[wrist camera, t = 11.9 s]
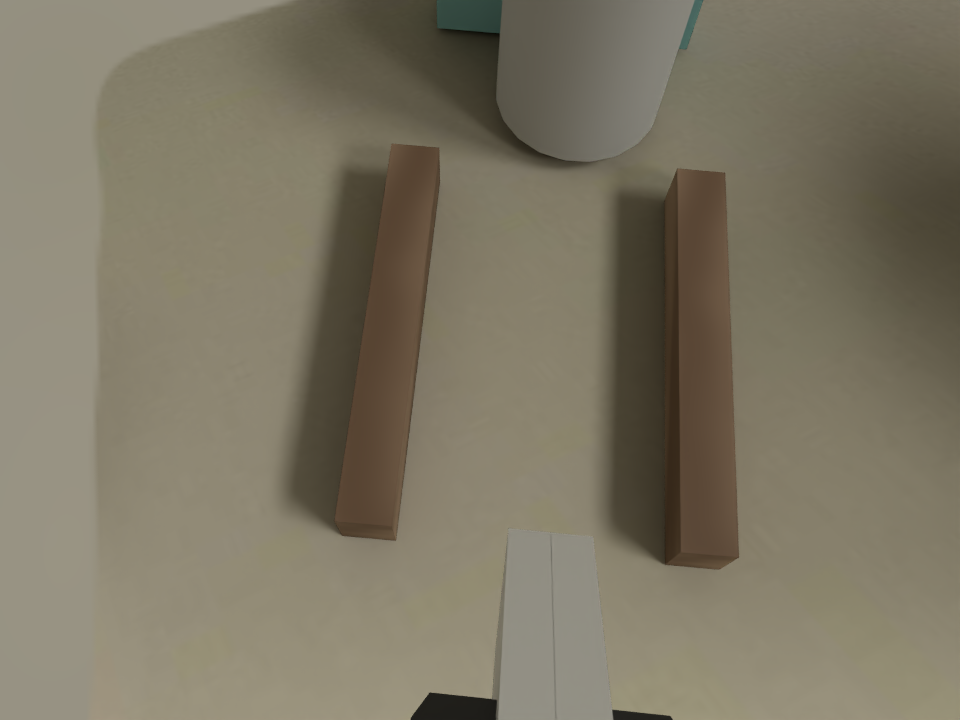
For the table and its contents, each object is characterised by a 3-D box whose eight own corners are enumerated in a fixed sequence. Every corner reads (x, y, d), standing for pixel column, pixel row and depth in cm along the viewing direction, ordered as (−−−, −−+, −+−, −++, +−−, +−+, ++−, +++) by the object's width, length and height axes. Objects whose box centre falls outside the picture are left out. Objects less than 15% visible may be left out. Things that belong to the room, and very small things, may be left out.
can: (485, 50, 41) (497, -197, 30) (638, 40, 42) (704, -207, 31) (505, 180, 39) (527, -42, 28) (669, 167, 39) (755, -56, 28)
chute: (709, 205, 38) (725, 172, 36) (719, 569, 32) (738, 557, 30) (394, 177, 38) (391, 143, 36) (342, 535, 32) (333, 521, 30)
